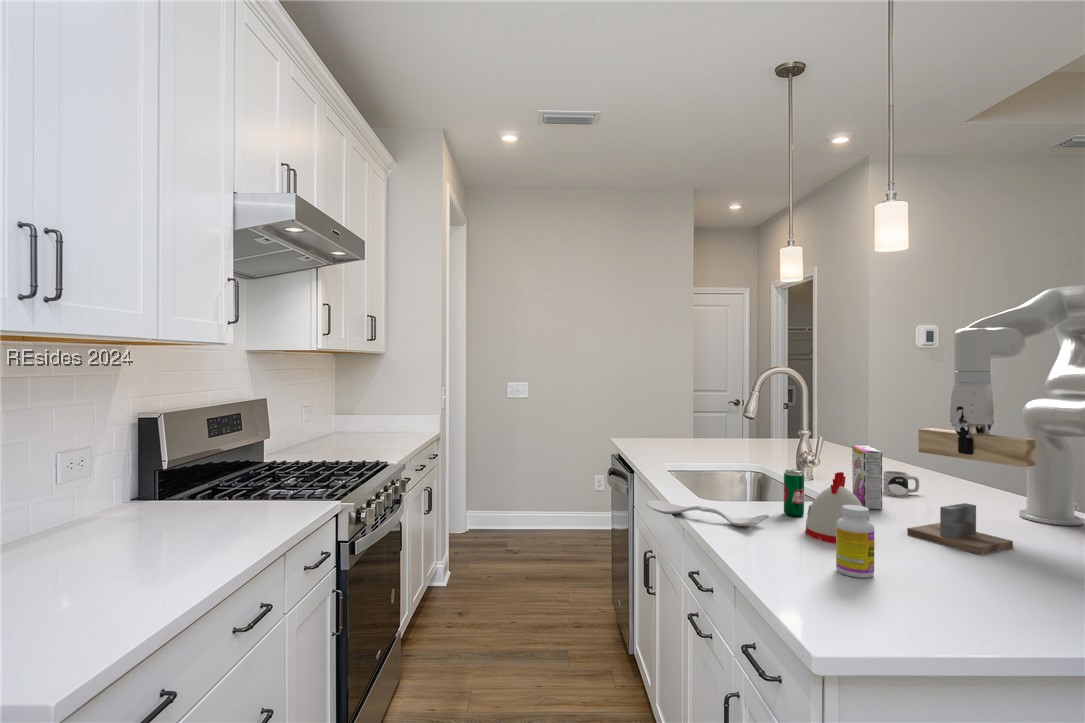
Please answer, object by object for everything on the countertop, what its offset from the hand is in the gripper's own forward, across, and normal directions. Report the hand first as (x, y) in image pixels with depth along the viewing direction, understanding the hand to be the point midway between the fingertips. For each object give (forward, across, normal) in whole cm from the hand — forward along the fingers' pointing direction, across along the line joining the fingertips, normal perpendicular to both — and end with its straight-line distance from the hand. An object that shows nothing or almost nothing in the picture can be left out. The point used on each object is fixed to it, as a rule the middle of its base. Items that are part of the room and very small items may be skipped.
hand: (973, 452), depth 145 cm
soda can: (+19, +29, -28) cm, 45 cm away
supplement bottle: (+19, +52, +9) cm, 56 cm away
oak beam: (+2, 0, 0) cm, 2 cm away
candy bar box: (+19, +1, -28) cm, 34 cm away
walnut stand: (+19, +12, +4) cm, 23 cm away
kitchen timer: (+19, +34, -10) cm, 40 cm away
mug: (+20, -21, -33) cm, 44 cm away
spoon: (+19, +54, -35) cm, 67 cm away
